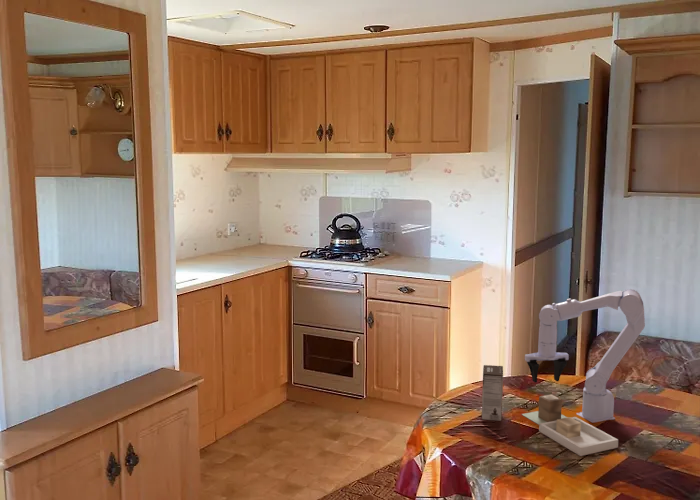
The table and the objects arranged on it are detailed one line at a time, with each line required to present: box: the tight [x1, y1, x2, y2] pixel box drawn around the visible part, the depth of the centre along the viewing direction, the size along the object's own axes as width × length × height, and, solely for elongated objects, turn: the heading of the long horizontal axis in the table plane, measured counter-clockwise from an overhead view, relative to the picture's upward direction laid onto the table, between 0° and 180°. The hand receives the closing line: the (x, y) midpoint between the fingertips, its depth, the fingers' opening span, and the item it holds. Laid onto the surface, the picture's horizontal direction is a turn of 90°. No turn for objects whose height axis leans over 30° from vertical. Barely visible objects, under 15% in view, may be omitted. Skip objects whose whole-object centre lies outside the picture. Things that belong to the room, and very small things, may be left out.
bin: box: [538, 416, 619, 457], centre depth 198 cm, size 14×18×3 cm
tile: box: [521, 410, 568, 426], centre depth 213 cm, size 12×12×1 cm
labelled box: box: [537, 393, 563, 422], centre depth 212 cm, size 5×5×7 cm
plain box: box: [556, 416, 581, 438], centre depth 201 cm, size 5×5×4 cm
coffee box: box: [481, 364, 504, 422], centre depth 215 cm, size 9×6×16 cm
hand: (545, 381), depth 219 cm, fingers open, 7 cm apart
